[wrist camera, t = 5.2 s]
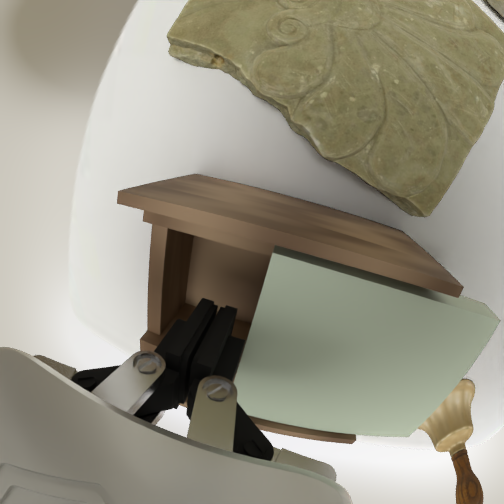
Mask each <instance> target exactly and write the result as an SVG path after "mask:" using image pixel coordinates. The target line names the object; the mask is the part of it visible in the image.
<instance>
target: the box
mask: <svg viewBox="0 0 504 504" xmlns="http://www.w3.org/2000/svg"><path fill="white" fill-rule="evenodd" d="M117 203H118V204H122V205H126V206H129V207H133V208H137V209H141V210H144V214H143V221H144V222H147V223H151V224H152V234H151V246H150V260H149V278H148V330H147V332H146V333H145V334H144V335H143V336H142V337H141V339H140V350H141V351H153V352H154V350H155V349H156V348H157V346H158V345H159V343H160V342H161V341H162V339H163V338H164V337H165V335H166V334H167V332H168V331H169V330H170V328H171V327H172V326H173V324H174V323H175V322H176V320H177V319H181V320H184V321H187V320H188V318H189V317H190V315H191V314H192V312H193V311H194V309H195V308H196V306H197V305H198V304H199V302H200V301H201V299H202V298H205V299H208V300H212V301H214V305H217V306H218V308H217V313H218V311H219V309H220V307H224V308H225V306H226V305H228V306H231V307H234V308H238V310H237V314H236V318H235V323H234V327H233V331H232V335H231V336H234V337H237V338H240V339H244V340H245V343H244V347H243V350H242V354H243V351H244V348H245V344H246V341H247V338H248V335H249V331H250V328H251V325H252V321H253V318H254V315H255V311H256V308H257V305H258V301H259V298H260V294H261V291H262V288H263V284H264V281H265V277H266V274H267V270H268V267H269V263H270V260H271V257H272V253H273V250H274V247H275V245H277V246H280V247H284V248H288V249H291V250H295V251H298V252H302V253H305V254H309V255H313V256H316V257H320V258H323V259H327V260H330V261H334V262H337V263H341V264H344V265H348V266H351V267H355V268H358V269H362V270H365V271H369V272H372V273H376V274H379V275H383V276H386V277H389V278H393V279H396V280H400V281H403V282H406V283H410V284H413V285H416V286H420V287H423V288H427V289H430V290H433V291H437V292H440V293H443V294H446V295H450V296H453V297H456V298H459V296H460V294H461V292H462V290H463V288H464V287H463V286H462V285H461V284H460V283H459V282H458V281H457V280H456V279H455V278H454V277H453V276H452V275H451V274H450V273H449V272H448V271H447V270H446V269H445V268H444V267H443V266H441V265H440V264H439V263H438V262H437V261H436V260H435V259H434V258H433V257H432V256H431V255H429V254H428V253H427V252H426V251H425V250H424V249H423V248H422V247H420V246H419V245H418V244H417V243H416V242H415V241H413V240H412V239H411V238H410V237H409V236H408V235H406V234H405V233H404V232H403V231H400V230H397V229H395V228H392V227H389V226H386V225H383V224H380V223H377V222H374V221H371V220H368V219H365V218H362V217H359V216H356V215H352V214H349V213H346V212H343V211H340V210H336V209H333V208H330V207H326V206H323V205H319V204H316V203H312V202H309V201H305V200H302V199H298V198H294V197H291V196H287V195H283V194H280V193H276V192H272V191H268V190H264V189H260V188H256V187H252V186H248V185H243V184H239V183H235V182H231V181H226V180H222V179H217V178H213V177H208V176H203V175H198V174H192V175H187V176H182V177H177V178H172V179H167V180H162V181H158V182H153V183H149V184H145V185H140V186H136V187H132V188H128V189H124V190H120V191H118V199H117ZM217 313H216V315H217ZM242 354H241V357H242ZM241 357H240V360H239V364H240V361H241ZM239 364H238V367H239ZM238 367H237V370H238ZM237 370H236V373H237ZM236 373H235V376H234V379H233V383H234V380H235V377H236ZM187 398H188V397H187ZM179 405H181V406H184V407H186V408H187V399H186V401H185V403H184V404H179ZM248 416H249V417H250V419H251V420H252V421H253V422H254V424H255V425H256V426H257V427H258V428H259V430H264V431H269V432H273V433H278V434H283V435H288V436H293V437H299V438H305V439H312V440H320V441H327V442H336V443H347V444H352V443H354V442H355V441H356V435H355V434H345V433H336V432H329V431H322V430H315V429H309V428H303V427H298V426H293V425H288V424H283V423H278V422H274V421H270V420H265V419H261V418H257V417H254V416H250V415H248Z"/></svg>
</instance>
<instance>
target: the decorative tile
mask: <svg viewBox="0 0 504 504" xmlns="http://www.w3.org/2000/svg"><path fill="white" fill-rule="evenodd" d="M167 38H168V41H169V43H170V44H171V45H170V48H169V51H168V52H169V54H170V56H172V57H175V58H178V59H180V60H182V61H184V62H186V63H189V64H191V65H194V66H197V67H198V66H201V67H204V68H211V69H220V70H222V71H224V72H225V73H229V74H230V75H231V76H232V77H234V78H235V79H237V80H239V81H240V82H241V83H242V84H243V85H245V86H247V87H248V88H249V89H250V91H251V92H252V94H253V95H254V96H256V97H259V98H261V99H264V100H266V101H267V102H268V103H270V104H271V105H273V106H274V107H276V108H277V109H278V110H279V111H280V112H281V113H282V114H283V116H284V117H285V118H286V121H287V122H288V124H289V126H290V128H291V129H292V130H293V131H294V132H296V133H297V134H299V135H301V136H304V138H306V139H307V140H308V141H309V142H310V144H311V145H312V146H313V147H314V148H315V149H316V151H317V152H318V153H319V154H320V155H321V156H322V157H324V158H325V159H327V160H329V161H332V162H336V163H338V164H340V165H342V166H343V167H345V168H346V169H348V170H349V171H351V172H352V173H354V174H356V175H357V176H359V177H360V178H361V179H362V180H363V181H365V182H366V183H367V184H369V185H371V186H372V187H374V188H376V189H378V190H379V191H380V192H381V193H382V194H384V195H385V196H386V197H387V198H388V199H390V200H391V201H392V202H393V203H395V204H396V205H397V206H398V207H399V208H400V209H402V210H403V211H405V212H407V213H408V214H410V215H411V216H417V217H427V216H430V214H431V213H432V211H433V210H434V209H435V207H436V206H437V205H438V203H439V202H440V201H441V199H442V197H443V196H444V194H445V193H446V191H447V190H448V188H449V187H450V185H451V183H452V182H453V180H454V179H455V177H456V176H457V174H458V172H459V170H460V169H461V167H462V165H463V163H464V161H465V159H466V157H467V155H468V153H469V152H470V150H471V148H472V147H473V145H474V144H475V143H476V142H477V140H478V139H479V137H480V136H481V134H482V132H483V130H484V127H485V126H486V124H487V122H488V121H489V118H490V116H491V114H492V112H493V109H494V101H495V98H496V95H497V92H498V90H499V87H500V85H501V83H502V81H503V80H504V33H503V32H502V30H501V29H500V28H499V27H498V26H497V25H496V24H495V23H494V22H493V21H492V20H491V19H490V18H489V17H488V16H487V15H486V14H485V13H484V12H483V11H482V10H481V9H480V8H479V7H478V6H477V5H476V4H475V3H474V2H473V1H472V0H189V1H188V2H187V3H186V5H185V6H184V8H183V10H182V11H181V13H180V15H179V17H178V18H177V19H176V21H175V22H174V24H173V26H172V27H171V29H170V30H169V32H168V34H167Z"/></svg>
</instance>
